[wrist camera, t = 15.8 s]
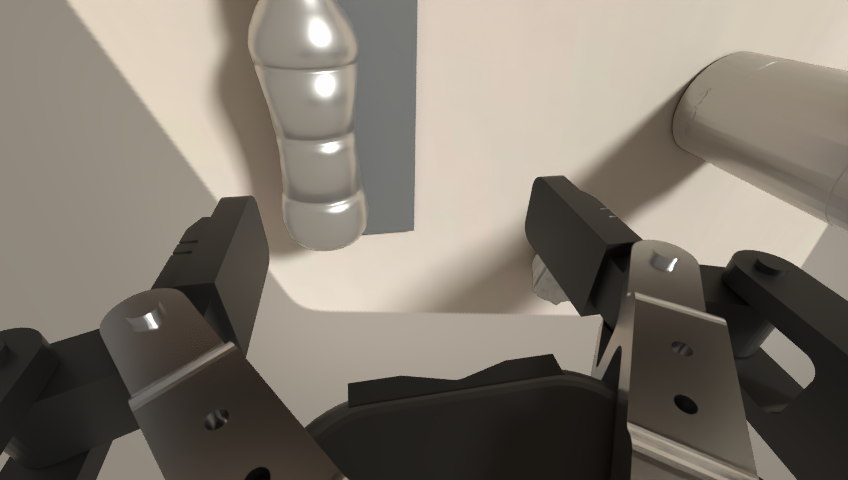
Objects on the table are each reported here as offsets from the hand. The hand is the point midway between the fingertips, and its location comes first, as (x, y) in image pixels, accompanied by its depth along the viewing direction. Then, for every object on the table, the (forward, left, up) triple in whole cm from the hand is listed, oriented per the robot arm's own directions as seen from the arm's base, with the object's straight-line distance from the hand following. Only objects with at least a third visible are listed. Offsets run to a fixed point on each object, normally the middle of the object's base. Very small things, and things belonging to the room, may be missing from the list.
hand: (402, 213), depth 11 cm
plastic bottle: (+4, +13, -18) cm, 22 cm away
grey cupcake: (-19, +19, -21) cm, 35 cm away
